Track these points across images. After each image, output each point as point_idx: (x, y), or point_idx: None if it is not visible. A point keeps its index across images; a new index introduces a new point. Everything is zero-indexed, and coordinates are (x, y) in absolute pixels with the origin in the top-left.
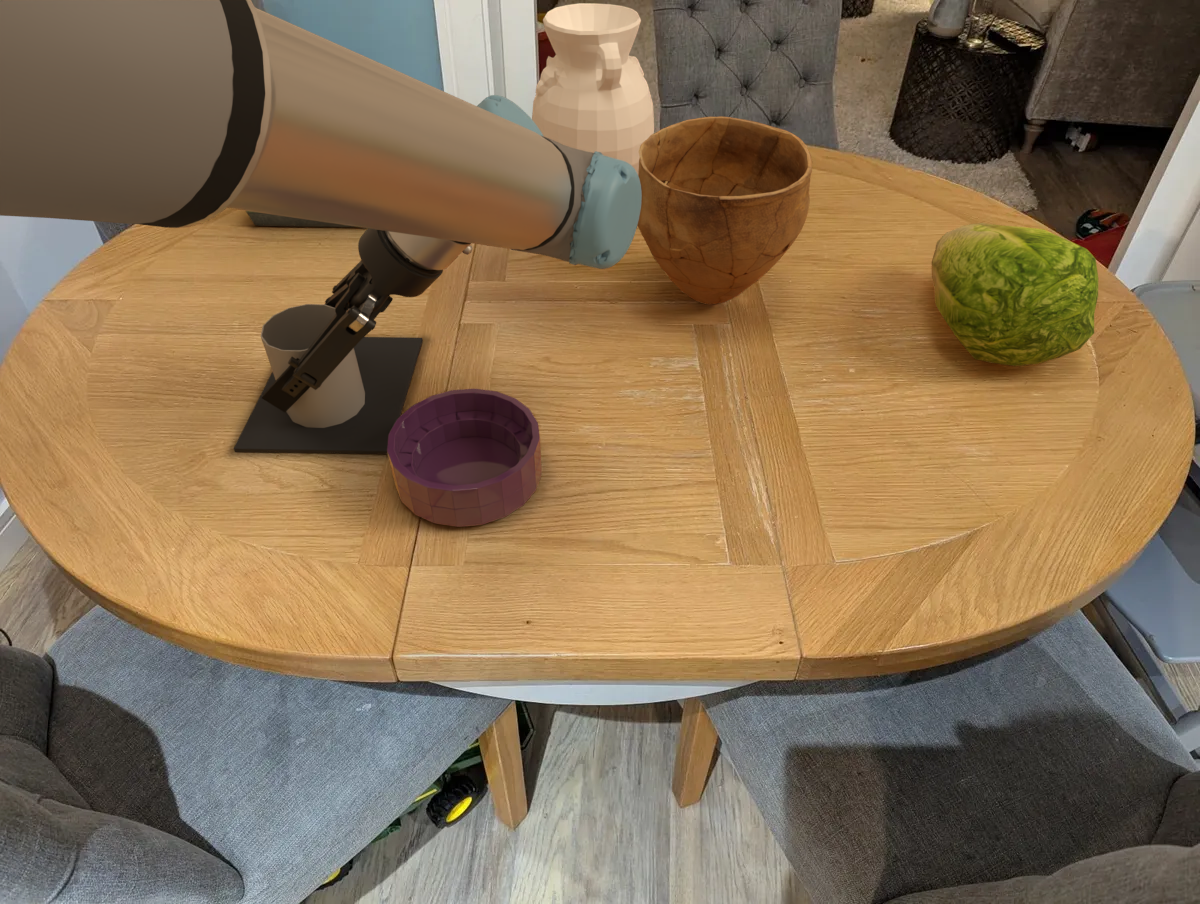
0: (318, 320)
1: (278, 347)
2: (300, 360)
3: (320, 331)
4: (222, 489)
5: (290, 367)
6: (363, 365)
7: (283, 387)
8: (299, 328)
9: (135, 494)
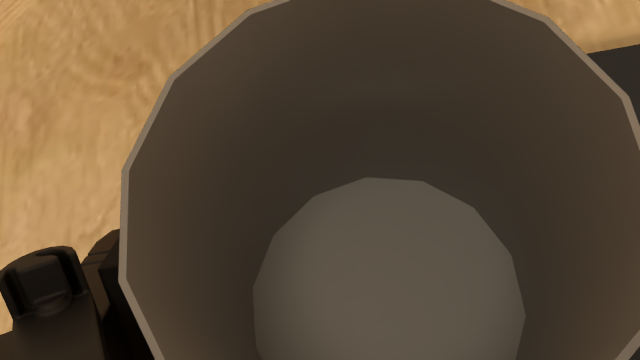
0: (596, 186)
1: (397, 83)
2: (51, 315)
3: (570, 207)
4: (16, 177)
5: (115, 245)
6: (632, 355)
7: (111, 235)
8: (525, 113)
9: (10, 8)
